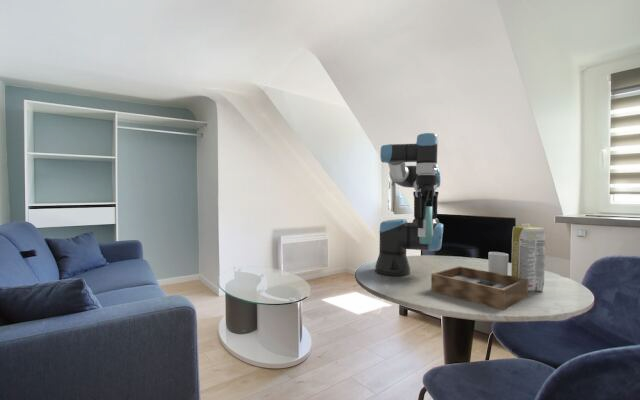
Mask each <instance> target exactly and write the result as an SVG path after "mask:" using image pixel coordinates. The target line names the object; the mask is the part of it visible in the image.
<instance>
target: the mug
mask: <svg viewBox="0 0 640 400" xmlns="http://www.w3.org/2000/svg"><path fill="white" fill-rule="evenodd" d="M487 255H488V258H487V259H488V271H487V272H493V273H498V274H503V275H509V254H508V253H505V252H499V251H489V252H488V254H487Z"/></svg>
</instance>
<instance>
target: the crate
mask: <svg viewBox="0 0 640 400" xmlns="http://www.w3.org/2000/svg"><path fill="white" fill-rule="evenodd" d="M430 285H431V286H430V289H431V292H435V293H439V294H441V295H442V294H443V295H447V296H451V297H454V298H459V299H461V300H465V301H468V302H473V303H477V304H480V305H484V306H487V307H490V308H495V309H498V310H502V311H504V310H506V309H508V308H510V307H512V306H513V304H514V305H515V304H517V303H520V302H521V301H523V300H524V299H526V298H528V295H529V293H528V292H529V291H528V279H524V278H519V277H514V276H511V275H509V274H508V275H503V274H498V273H493V272H488V271H486V270H482V269H476V268H471V267H465V266H462V265H461V266H460V265H459V266H455V267H452V268H451V267H450V268H448V269H444V270H441V271H437V272H433V273H431V284H430Z"/></svg>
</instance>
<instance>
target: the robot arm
mask: <svg viewBox="0 0 640 400" xmlns="http://www.w3.org/2000/svg"><path fill="white" fill-rule="evenodd" d="M438 143H439V141H438V135H437V134H436V133H433V132H428V133H427V132H425V133H424V132H423V133H420V134H418V135H417V136H416V142H415V143H403V144H402V143H399V144H398V143H397V144H396V143H393V144H391V143H390V144H383V145H381V147H380V161H381V162H382V164H383V163H385V164H386V163H387V166H388V169H389V173H388V175H389V177H390V180H391V181H392V182H393V183H394V184H396V185H398V186H400V187H403V188H411V189H412V188H413V189H414V191H413V192H412V194H413V195H412V196H413V217H414V218H413V220H412V222H408V220H407V218H397V219H388V220H383V221H381V222H380V223H379V232H378V233H379V252H378V257H377V259H376V260H377V261H376V262H375V266H374V267H375V268H374V272H375V273H377V274H379V275H384V276H389V277H390V276H391V277H402V276H403V277H404V276H405V277H406V276H409V275H410V274H411V267H410V263H409V260H408V257H407V250H415V251H429V252H433V251H434V252H435V251H440V250H441V248H442V243H443V234H444V224H443V223H441V222H440V221H439V219H438V218H437V217H438V201H439V200H438V197H439V191H436V190H437V189H438V188H440V186H441V171H440V168H439V167H438ZM406 163H416V164H415V165H406ZM426 206H431V207H432V244H421V243H419V237H425V232H426V220H424V217H425V210H426Z"/></svg>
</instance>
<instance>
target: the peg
mask: <svg viewBox="0 0 640 400" xmlns="http://www.w3.org/2000/svg"><path fill="white" fill-rule="evenodd" d="M424 220H426V232H425V237H419V243H421V244H432V207H431V206H426V210H425V217H424Z"/></svg>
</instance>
